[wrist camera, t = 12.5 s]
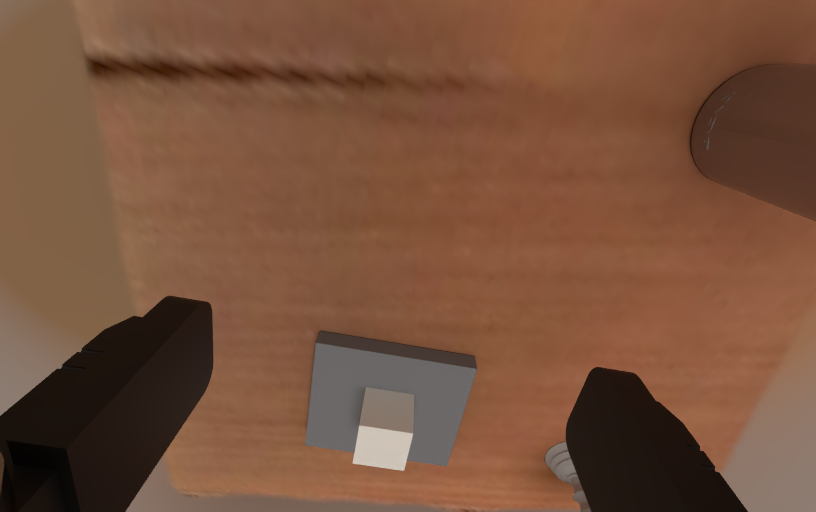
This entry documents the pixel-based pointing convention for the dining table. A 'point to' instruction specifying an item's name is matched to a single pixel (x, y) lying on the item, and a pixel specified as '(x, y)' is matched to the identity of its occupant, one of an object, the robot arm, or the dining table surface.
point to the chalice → (566, 472)
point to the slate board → (394, 371)
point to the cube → (385, 429)
